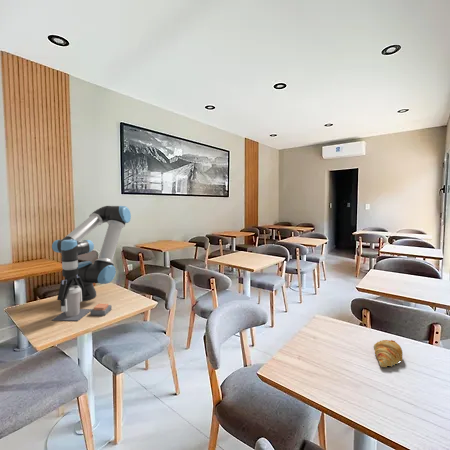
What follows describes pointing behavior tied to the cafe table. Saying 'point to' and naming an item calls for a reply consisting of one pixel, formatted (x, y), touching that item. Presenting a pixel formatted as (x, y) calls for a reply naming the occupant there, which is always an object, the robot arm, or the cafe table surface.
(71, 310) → the coffee cup
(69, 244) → the robot arm
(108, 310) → the button housing
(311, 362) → the cafe table surface
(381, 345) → the croissant
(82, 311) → the mat
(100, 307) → the button
